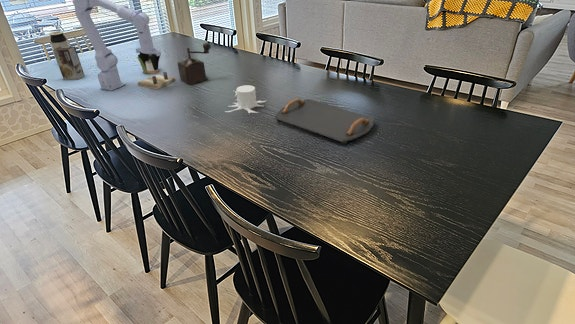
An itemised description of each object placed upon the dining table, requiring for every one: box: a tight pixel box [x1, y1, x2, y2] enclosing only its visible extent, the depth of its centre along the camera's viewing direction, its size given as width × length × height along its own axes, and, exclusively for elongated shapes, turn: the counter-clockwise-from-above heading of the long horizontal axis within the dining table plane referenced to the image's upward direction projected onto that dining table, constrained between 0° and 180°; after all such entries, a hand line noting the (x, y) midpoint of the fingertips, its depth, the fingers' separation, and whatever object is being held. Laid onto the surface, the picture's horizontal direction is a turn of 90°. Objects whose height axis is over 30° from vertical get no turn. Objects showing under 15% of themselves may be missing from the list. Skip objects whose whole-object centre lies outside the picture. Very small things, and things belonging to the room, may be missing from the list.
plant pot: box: [136, 54, 151, 74], centre depth 208 cm, size 9×9×9 cm
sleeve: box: [145, 60, 159, 74], centre depth 186 cm, size 5×5×5 cm
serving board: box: [274, 98, 375, 146], centre depth 149 cm, size 39×23×6 cm, turn 50°
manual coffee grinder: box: [177, 42, 212, 86], centre depth 193 cm, size 16×11×18 cm
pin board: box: [137, 71, 176, 90], centre depth 194 cm, size 13×13×5 cm
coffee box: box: [52, 45, 86, 81], centre depth 202 cm, size 9×6×16 cm
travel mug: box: [48, 30, 69, 50], centre depth 225 cm, size 8×8×18 cm
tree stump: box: [224, 84, 267, 114], centre depth 166 cm, size 20×19×8 cm
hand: (152, 68), depth 186 cm, fingers closed on sleeve, 5 cm apart
